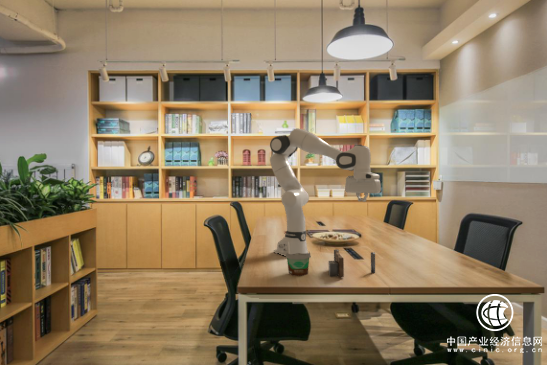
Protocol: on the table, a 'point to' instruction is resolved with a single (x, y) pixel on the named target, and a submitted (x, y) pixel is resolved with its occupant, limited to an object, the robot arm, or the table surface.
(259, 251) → the table surface
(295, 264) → the yogurt cup
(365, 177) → the robot arm
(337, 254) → the brown wooden bar
